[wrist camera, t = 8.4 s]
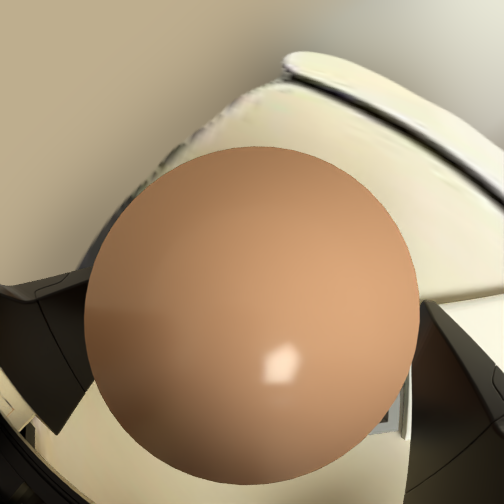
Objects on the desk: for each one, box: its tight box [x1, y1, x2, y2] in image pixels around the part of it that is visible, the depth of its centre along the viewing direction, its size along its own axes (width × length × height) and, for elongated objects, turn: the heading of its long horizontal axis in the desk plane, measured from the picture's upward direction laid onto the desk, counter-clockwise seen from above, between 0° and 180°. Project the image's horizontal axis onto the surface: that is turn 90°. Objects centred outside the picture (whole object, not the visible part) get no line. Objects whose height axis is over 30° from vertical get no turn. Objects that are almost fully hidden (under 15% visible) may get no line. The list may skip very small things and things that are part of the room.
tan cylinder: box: [84, 146, 420, 485], centre depth 10 cm, size 6×6×13 cm
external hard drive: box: [401, 294, 504, 440], centre depth 12 cm, size 2×8×12 cm
